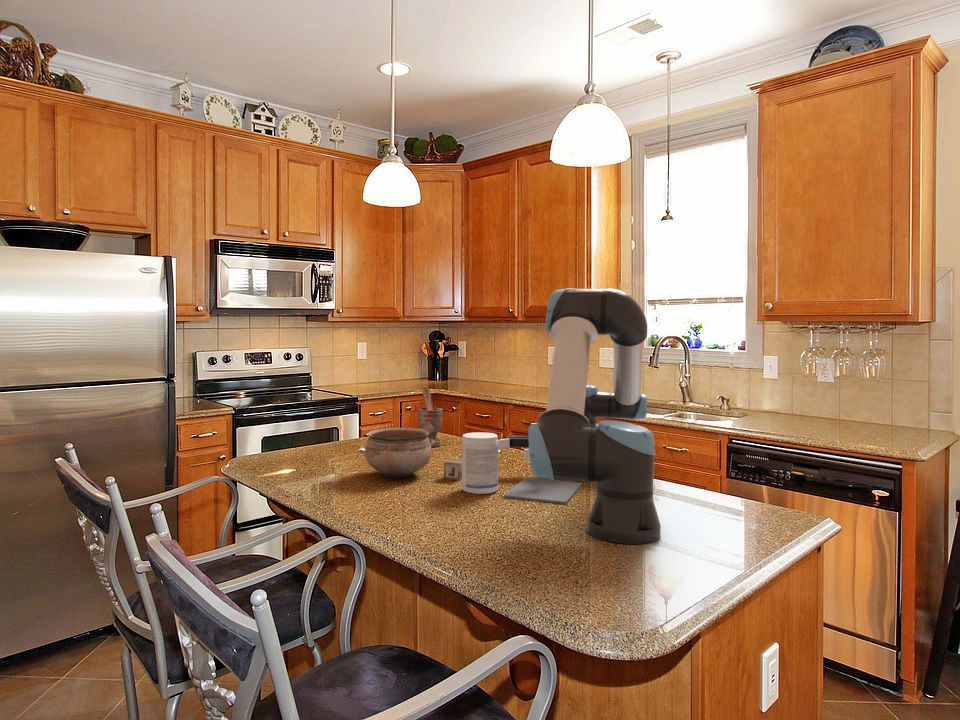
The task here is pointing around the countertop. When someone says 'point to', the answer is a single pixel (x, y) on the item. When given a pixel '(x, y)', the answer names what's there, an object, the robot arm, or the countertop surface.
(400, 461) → the cooking pot
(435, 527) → the countertop surface
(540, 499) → the grey mat
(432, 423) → the mortar and pestle
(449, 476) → the lettered block
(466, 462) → the supplement tub
